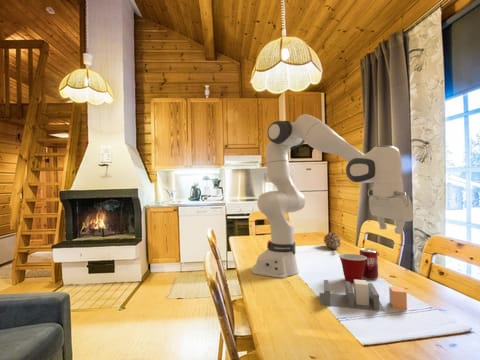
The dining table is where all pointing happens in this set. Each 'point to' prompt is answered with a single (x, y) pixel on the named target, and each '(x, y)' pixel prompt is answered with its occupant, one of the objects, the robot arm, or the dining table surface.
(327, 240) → the pine cone
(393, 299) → the orange block
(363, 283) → the cream rectangular block
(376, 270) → the soda can
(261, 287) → the dining table surface
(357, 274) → the plastic cup
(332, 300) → the grey slotted rack
